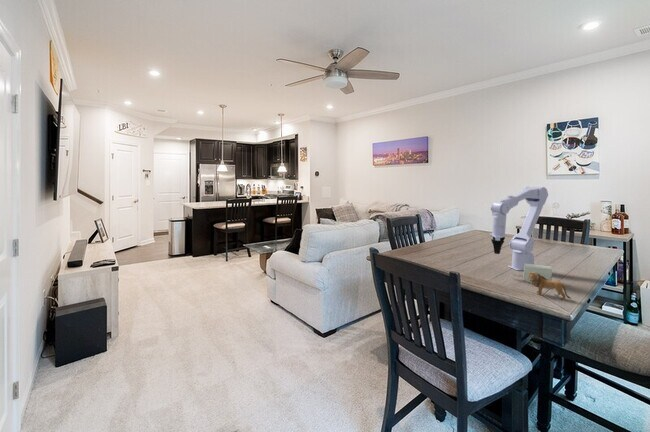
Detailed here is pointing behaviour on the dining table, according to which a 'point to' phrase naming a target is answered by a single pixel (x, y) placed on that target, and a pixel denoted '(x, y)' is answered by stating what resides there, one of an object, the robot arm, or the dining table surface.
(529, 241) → the robot arm
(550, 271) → the pale green block
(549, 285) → the lion figurine
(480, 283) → the dining table surface
